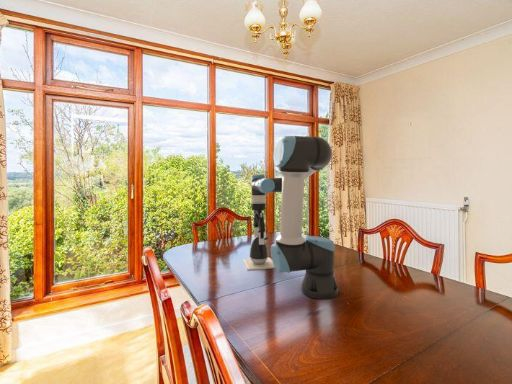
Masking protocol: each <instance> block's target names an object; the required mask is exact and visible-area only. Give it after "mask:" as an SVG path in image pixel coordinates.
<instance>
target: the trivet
mask: <svg viewBox="0 0 512 384" xmlns="http://www.w3.org/2000/svg"><path fill="white" fill-rule="evenodd" d="M242 263H243V265H244V267H245V269H246V271H255V270H264V269H265V270H268V269H269V270H270V269H276V268H275V267H274V264H273V262H272V258H271V257H269V256H268V258H267V260H266V262H265V263H263V264H255V263H253V262H252V261H251V258H246V259H245V258H244V259H242Z"/></svg>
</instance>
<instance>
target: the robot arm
mask: <svg viewBox="0 0 512 384" xmlns="http://www.w3.org/2000/svg"><path fill="white" fill-rule="evenodd" d="M332 157H333V150H332V146H331V144H329V142H328V141H327V140H326V139H324V138H322V137H320V136H304V135H284V136H281V137H279V139H278V140H277V142H276V144H275V146H274V150H273V157H272V158H273V165H275V166H276V168H278V172H279V174H281V176H282V177H266V175H265V174H261V173H260V174H252V175H251V177H250V186H251V187H250V189H251V194H250V195H251V197H250V198H251V210H252V211H253V222H252V223H253V232H254V233H253V237H254V238H255V237H256V236H259V245H262V244H264V238H265V232H266V225H265V216H264V215H265V214H264V212H262V211H265V210H266V203H265V202H266V198H267V196H266V194H270V193H273V194H274V193H281V202H280V223H279V224H280V227H279V234H278V235H277V236H276V238H275V242H274V243H272V244H271V245H270V249H269V250H270V256H271V257H270V259H271V260H272V262H273V264H274V267H275V268H274V269H275V270H276V271H277V272H278V273H280V274H282V273H293V272H300V271H305V274H304V277H303V279H302V283H301V292H302V294H304V296H307V297H310V298H312V299H318V300H328V299H332V298H335V297H337V296H338V293H339V286H338V284H337V280H336V277H335V243H334V241H333V240H331V239H330V238H327V237H322V236H318V235H317V236H315V235H309V236H306V237H305V238H304V236H303V235H302V234H303V233H302V232H303V216H304V215H303V213H304V196H305V195H304V194H305V181H306V180H307V179H308V178H309V177H311V176H312V175H313V174H314V173H315V172H319V171H321V170H322V171H323V169H324V168H326V167H327V166H328V165H329V164H330V162H331V160H332ZM254 238H253V239H254Z"/></svg>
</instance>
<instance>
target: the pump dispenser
mask: <svg viewBox="0 0 512 384" xmlns="http://www.w3.org/2000/svg"><path fill="white" fill-rule="evenodd" d="M267 240H269V236H266V237H264V244H262V245H259V236H256V237H255V238H253V240H252V242H251V244H250V245H251V246H250V250H249V259H251V261H252V262H253V263H255V264H263V263H265V262H266V260H267V258H269V251H268V247H267V243H266V241H267Z"/></svg>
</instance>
